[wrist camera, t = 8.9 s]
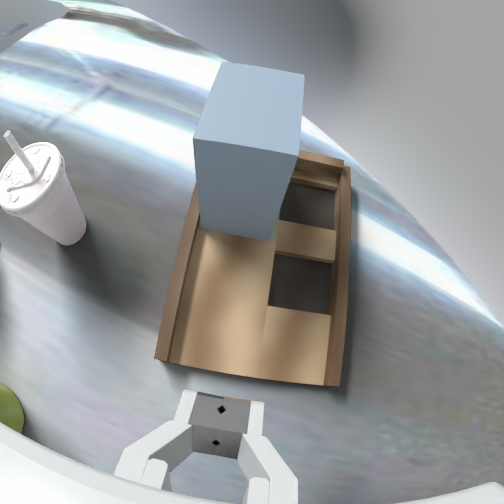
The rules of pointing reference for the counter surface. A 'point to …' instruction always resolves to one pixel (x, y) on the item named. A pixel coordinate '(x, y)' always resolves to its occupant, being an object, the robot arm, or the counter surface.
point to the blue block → (247, 148)
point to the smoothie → (41, 191)
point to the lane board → (267, 287)
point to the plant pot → (10, 410)
